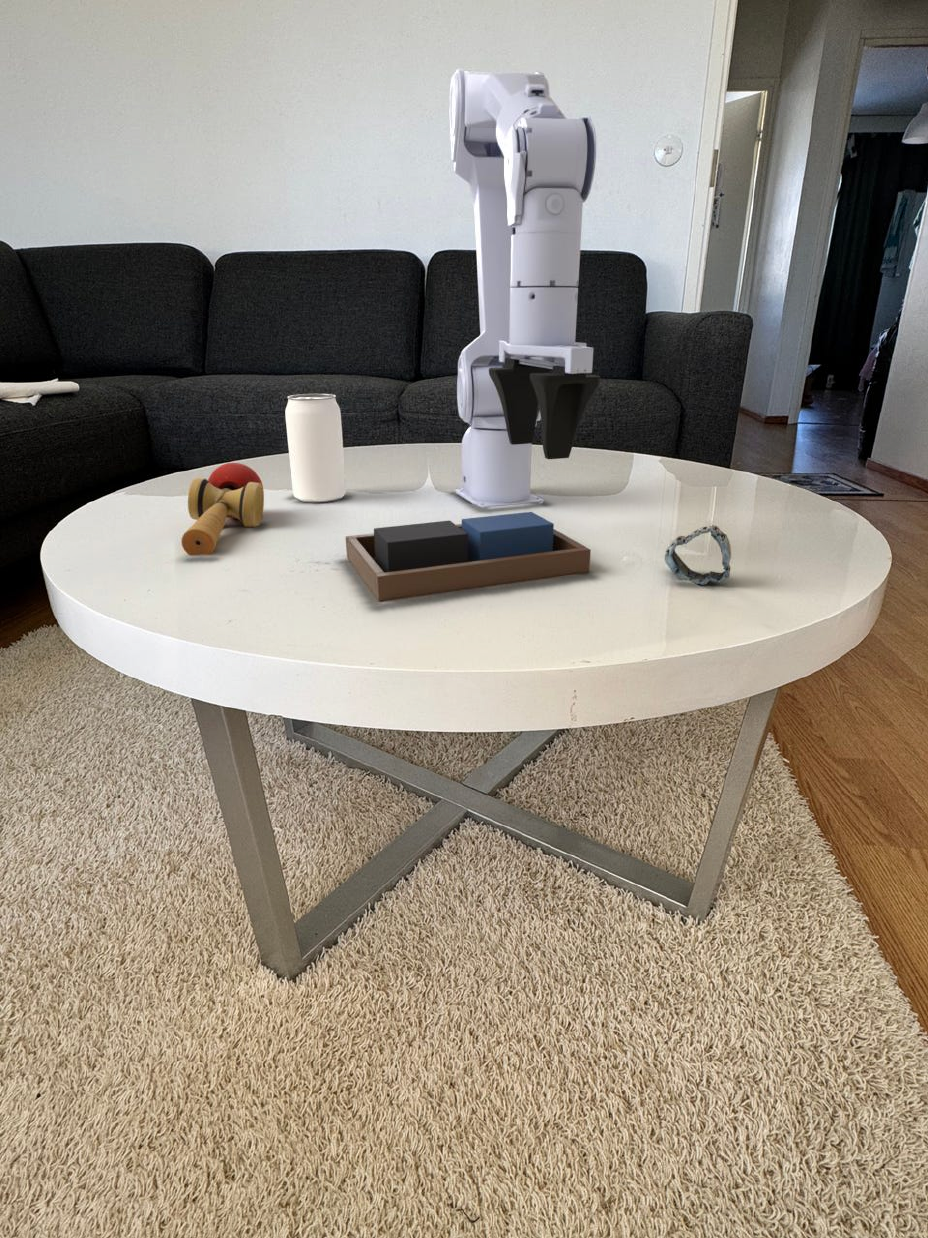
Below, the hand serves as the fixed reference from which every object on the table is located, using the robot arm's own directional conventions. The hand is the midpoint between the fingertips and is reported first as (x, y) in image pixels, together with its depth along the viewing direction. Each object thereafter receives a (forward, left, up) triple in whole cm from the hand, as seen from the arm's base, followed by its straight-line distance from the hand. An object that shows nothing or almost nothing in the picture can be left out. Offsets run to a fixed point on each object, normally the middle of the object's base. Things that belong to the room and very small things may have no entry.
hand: (538, 450), depth 66 cm
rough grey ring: (+14, +8, -10) cm, 19 cm away
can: (-28, -16, -10) cm, 34 cm away
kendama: (-16, -28, -10) cm, 34 cm away
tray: (+4, -9, -9) cm, 13 cm away
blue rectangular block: (+4, -5, -9) cm, 11 cm away
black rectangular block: (+4, -13, -9) cm, 16 cm away
